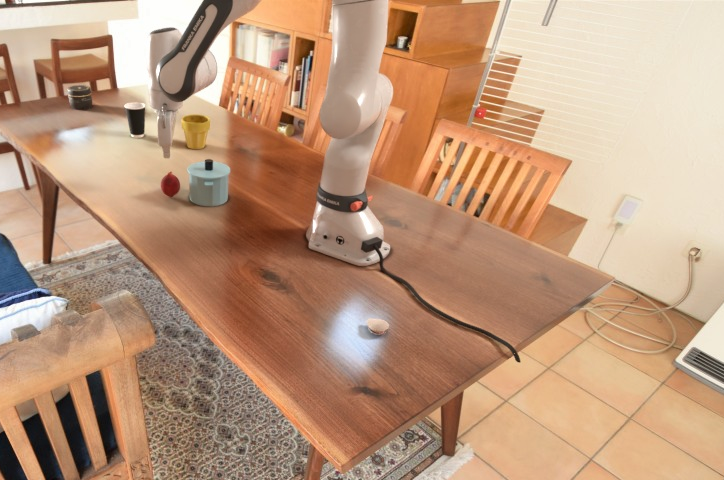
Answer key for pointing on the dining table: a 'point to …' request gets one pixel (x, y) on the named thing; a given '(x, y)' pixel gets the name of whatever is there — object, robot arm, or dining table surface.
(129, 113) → the dixie cup
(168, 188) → the onion
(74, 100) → the jar
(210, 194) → the pot
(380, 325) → the macaroon
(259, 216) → the dining table surface
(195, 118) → the flower pot
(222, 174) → the pot lid
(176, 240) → the dining table surface
